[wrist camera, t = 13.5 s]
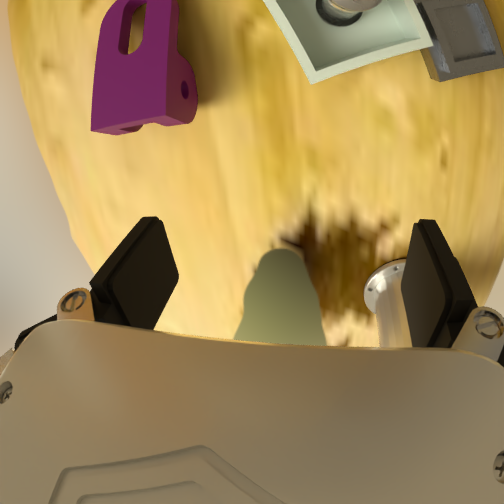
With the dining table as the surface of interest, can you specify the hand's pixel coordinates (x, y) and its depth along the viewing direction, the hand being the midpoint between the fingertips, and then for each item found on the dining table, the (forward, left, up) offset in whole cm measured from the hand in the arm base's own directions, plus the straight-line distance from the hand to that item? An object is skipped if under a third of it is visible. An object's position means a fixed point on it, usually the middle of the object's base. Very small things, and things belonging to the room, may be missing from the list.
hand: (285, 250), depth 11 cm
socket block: (+3, -21, -27) cm, 34 cm away
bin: (+9, -9, -27) cm, 30 cm away
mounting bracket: (+15, +13, -28) cm, 34 cm away
